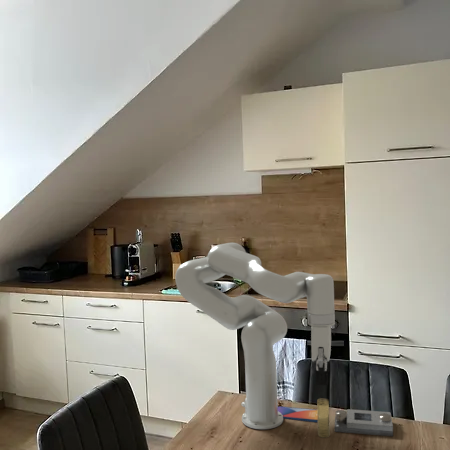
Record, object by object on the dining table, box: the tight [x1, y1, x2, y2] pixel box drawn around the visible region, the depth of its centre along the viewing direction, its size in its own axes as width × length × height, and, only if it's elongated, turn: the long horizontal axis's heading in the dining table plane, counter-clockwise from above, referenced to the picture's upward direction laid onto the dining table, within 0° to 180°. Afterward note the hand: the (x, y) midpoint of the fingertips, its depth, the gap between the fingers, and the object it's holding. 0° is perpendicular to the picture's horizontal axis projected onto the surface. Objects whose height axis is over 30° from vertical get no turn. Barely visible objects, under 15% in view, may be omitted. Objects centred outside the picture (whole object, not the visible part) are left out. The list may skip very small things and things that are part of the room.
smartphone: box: [278, 405, 318, 423], centre depth 154 cm, size 7×15×1 cm, turn 71°
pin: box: [316, 397, 330, 438], centre depth 141 cm, size 3×3×10 cm
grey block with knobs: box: [334, 408, 394, 437], centre depth 145 cm, size 16×9×4 cm, turn 75°
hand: (323, 378), depth 140 cm, fingers open, 9 cm apart
